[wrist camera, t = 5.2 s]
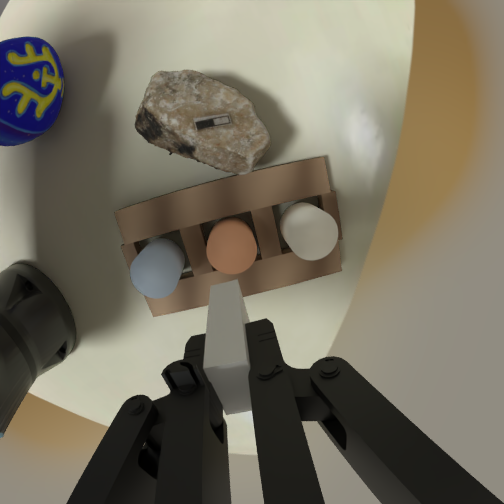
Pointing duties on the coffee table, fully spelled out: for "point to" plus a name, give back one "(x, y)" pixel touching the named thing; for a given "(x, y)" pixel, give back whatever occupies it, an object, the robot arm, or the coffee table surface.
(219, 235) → the button terracotta
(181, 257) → the button slate
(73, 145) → the coffee table surface
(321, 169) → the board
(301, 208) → the button cream
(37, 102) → the ornament
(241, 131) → the stone
